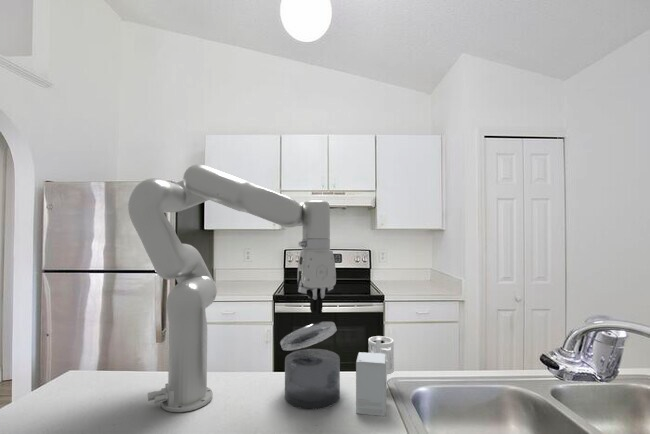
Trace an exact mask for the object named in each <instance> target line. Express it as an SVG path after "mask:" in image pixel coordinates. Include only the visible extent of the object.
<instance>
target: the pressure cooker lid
mask: <svg viewBox="0 0 650 434" xmlns="http://www.w3.org/2000/svg"><path fill="white" fill-rule="evenodd" d="M336 332H337V326H336V324H335V322H333V321H320V322H316V323H311V324H309V325H305V326H303V327H300V328H298V329H296V330H294V331H292V332H289V333H288V334H287V335H285V336H284V337H283V338H282V339H281V340H280V342H279V344H280V346H281V349H282V350H283V351H297V350H302V349H306V348H308V347H310V346H312V345H313V346H314V345H316V344H318V343H320V342H323V341H324V340H326V339H328V338H330V337H331V336H333V335H334V334H335V333H336Z"/></svg>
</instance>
